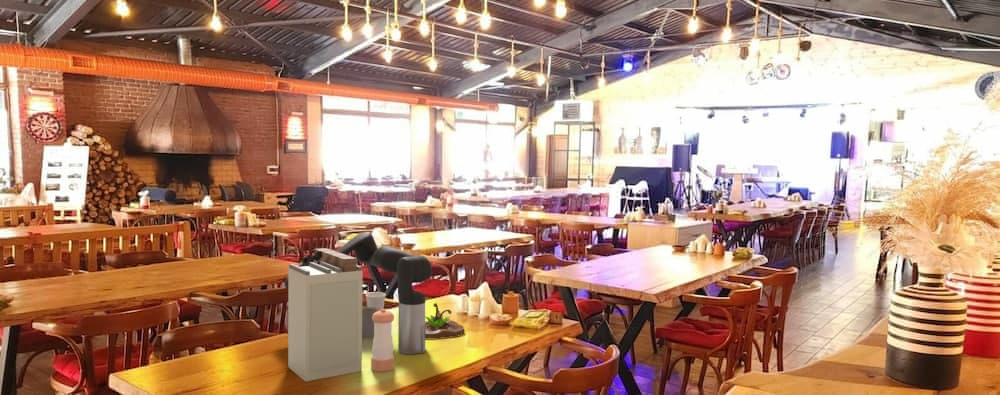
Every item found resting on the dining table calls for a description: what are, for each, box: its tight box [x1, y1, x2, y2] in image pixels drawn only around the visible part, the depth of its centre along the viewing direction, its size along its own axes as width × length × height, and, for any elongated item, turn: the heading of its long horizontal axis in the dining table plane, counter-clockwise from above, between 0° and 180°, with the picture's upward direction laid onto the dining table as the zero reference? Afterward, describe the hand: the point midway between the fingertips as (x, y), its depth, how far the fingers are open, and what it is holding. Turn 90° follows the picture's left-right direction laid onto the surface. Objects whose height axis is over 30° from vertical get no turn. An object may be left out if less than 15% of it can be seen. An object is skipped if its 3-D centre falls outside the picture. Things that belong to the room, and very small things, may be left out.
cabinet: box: [287, 261, 364, 383], centre depth 203 cm, size 16×18×33 cm
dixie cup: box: [365, 291, 387, 311], centre depth 271 cm, size 8×8×10 cm
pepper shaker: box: [370, 308, 395, 372], centre depth 206 cm, size 7×7×19 cm
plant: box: [425, 302, 465, 339], centre depth 252 cm, size 20×20×11 cm
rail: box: [313, 247, 358, 272], centre depth 210 cm, size 26×4×4 cm, turn 36°
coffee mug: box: [362, 306, 378, 340], centre depth 245 cm, size 13×10×10 cm
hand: (327, 252), depth 215 cm, fingers closed on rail, 4 cm apart
